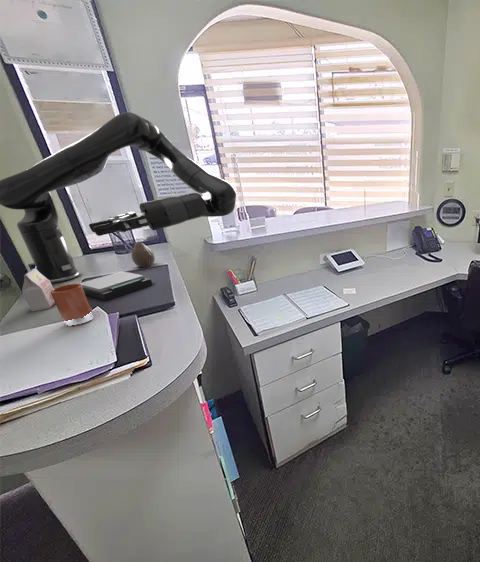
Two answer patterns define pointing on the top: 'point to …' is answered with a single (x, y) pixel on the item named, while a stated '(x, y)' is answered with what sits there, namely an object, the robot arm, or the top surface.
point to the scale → (114, 285)
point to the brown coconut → (142, 255)
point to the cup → (71, 301)
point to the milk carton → (37, 291)
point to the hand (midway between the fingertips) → (92, 230)
